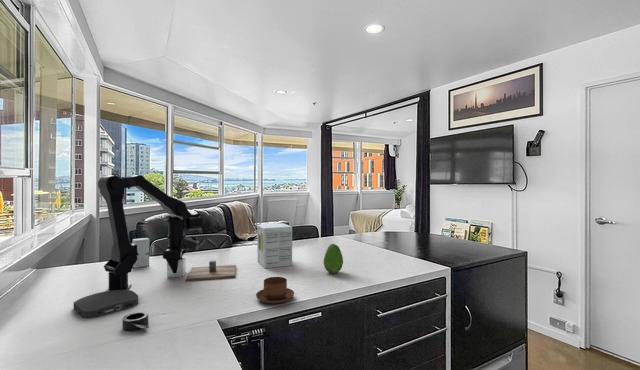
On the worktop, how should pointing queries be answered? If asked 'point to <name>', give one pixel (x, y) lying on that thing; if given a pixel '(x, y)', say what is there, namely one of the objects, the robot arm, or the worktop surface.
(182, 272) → the white cube
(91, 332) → the worktop surface
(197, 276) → the post stand
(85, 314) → the media streaming box
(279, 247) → the supplement box
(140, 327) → the duct tape
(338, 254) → the avocado
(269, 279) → the cup and saucer
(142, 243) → the skincare box
